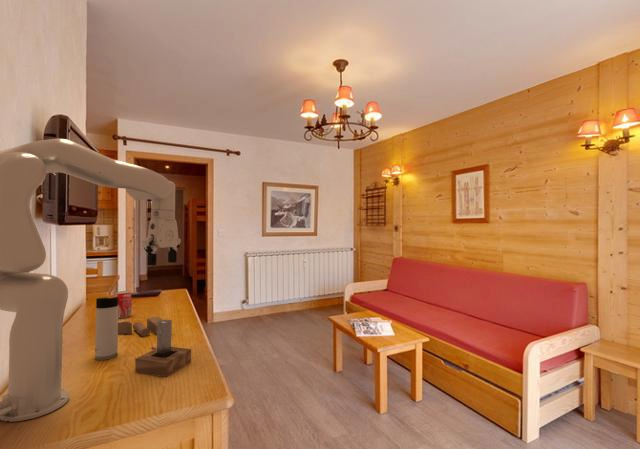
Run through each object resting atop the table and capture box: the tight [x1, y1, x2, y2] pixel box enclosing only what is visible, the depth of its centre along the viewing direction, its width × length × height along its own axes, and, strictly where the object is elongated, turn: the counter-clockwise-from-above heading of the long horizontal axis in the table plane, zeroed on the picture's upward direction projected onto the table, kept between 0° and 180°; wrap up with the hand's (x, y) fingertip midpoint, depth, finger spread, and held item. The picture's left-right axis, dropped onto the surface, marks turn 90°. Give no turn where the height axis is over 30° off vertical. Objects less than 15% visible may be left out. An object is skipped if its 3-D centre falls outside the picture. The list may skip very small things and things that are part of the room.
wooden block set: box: [118, 316, 164, 337], centre depth 128 cm, size 17×6×18 cm
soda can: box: [114, 290, 133, 320], centre depth 153 cm, size 7×7×12 cm
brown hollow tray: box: [134, 346, 192, 378], centre depth 99 cm, size 11×11×4 cm
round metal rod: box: [156, 319, 173, 358], centre depth 99 cm, size 4×4×14 cm
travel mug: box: [94, 296, 119, 361], centre depth 106 cm, size 6×7×20 cm
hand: (162, 263), depth 112 cm, fingers open, 9 cm apart
